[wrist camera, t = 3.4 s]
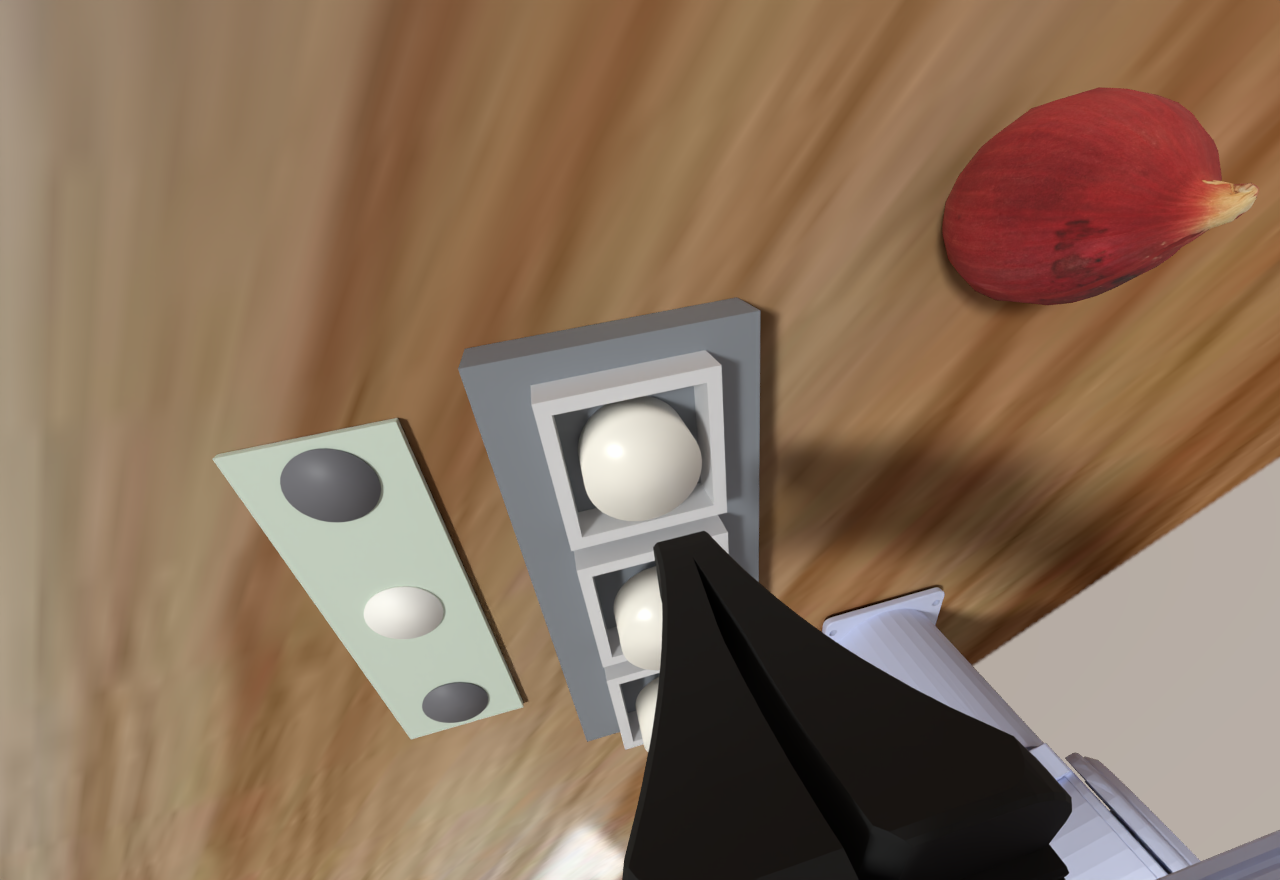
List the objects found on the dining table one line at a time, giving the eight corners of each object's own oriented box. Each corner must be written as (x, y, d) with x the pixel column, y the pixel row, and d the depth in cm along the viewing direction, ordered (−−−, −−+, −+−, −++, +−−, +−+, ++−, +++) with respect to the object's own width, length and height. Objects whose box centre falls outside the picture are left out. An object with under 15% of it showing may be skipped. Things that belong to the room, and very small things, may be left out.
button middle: (708, 619, 21) (723, 653, 19) (620, 643, 20) (629, 680, 19) (703, 553, 19) (719, 587, 17) (606, 578, 18) (613, 615, 17)
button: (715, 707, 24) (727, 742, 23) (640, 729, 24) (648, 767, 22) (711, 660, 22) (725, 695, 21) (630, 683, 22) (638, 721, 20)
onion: (987, 286, 20) (1235, 344, 13) (870, 276, 18) (1078, 334, 11) (1059, 120, 17) (1422, 81, 10) (928, 93, 16) (1246, 28, 9)
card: (523, 701, 26) (523, 708, 26) (412, 733, 25) (410, 741, 25) (397, 417, 17) (395, 422, 17) (217, 454, 16) (211, 460, 16)
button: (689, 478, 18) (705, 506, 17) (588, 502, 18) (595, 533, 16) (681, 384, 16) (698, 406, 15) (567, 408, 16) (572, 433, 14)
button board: (743, 659, 29) (769, 715, 26) (583, 706, 27) (590, 771, 24) (736, 297, 17) (781, 322, 14) (464, 349, 16) (452, 387, 13)
